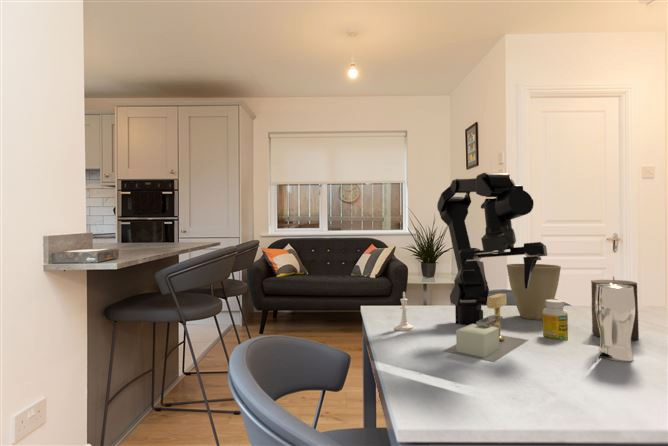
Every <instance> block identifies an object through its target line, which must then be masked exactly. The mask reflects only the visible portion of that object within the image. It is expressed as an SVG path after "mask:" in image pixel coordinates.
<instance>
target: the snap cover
mask: <svg viewBox="0 0 668 446" xmlns="http://www.w3.org/2000/svg"><path fill="white" fill-rule="evenodd" d="M455 337H456V340H455V342H456V344H455V345H456V351H457V352H461V353H466V354H471V355H475V356H480V357H486V356H488V355H489V354H491V353H493V352H494V351H496V350H498V349H499V328H497V327H495V326H491V325H490V326H488V327H485V326H479V325H476V324H470V325H464V327H460V328H459V329H457V330H456V333H455Z"/></svg>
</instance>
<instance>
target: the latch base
mask: <svg viewBox="0 0 668 446" xmlns="http://www.w3.org/2000/svg"><path fill="white" fill-rule="evenodd" d="M502 336H504V337H505V340H501V341H499V349H498V350H496V351H494V352H493V353H491V354H489V355H488V356H486V357H480V356H475V355H471V354H466V353H461V352H457V351H456V344H454V345H452V346H450V347H447V348H446V349H443V350H442V352H445V353H450V354H454V355H460V356H464V357H469V358H474V359H477V360H482V361H485V362H486V361H487V362H492V363H495V362H496V361H498V360H499V359H502V358H503V357H504V356H506V355H507V354H509V353H511V352H512V351H514V350H516V349H517V348H518V347H520V346H521V345H523V344H525V343H527V342H528V341H529V339H526V338H520V337H514V336H513V337H512V336H509V335H502Z"/></svg>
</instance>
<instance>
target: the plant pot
mask: <svg viewBox="0 0 668 446" xmlns="http://www.w3.org/2000/svg"><path fill="white" fill-rule="evenodd" d="M506 268H507V269H506V270H507V276H508V280H509V286H510V290H511V293H512V296H513V299H514V303H515V305H516V308H517V312H518V314H519V316H520V317H521V318H523V319H526V320H527V319H528V320H534V321H535V320H538V321H539V320H542V321H543V310H544V309H545V308H547V306H546V305H545V301H546V300H555V299H556V296H557V295H556V294H557V291H558V286H559V281H560V275H561V265H556V264H548V263H547V264H546V263H545V264H543V263H536V264H535V267H534V269H533V271H532V275H531V279H530V282H529V286H528V289H525V283H524V263H508V264H506Z"/></svg>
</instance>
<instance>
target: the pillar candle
mask: <svg viewBox="0 0 668 446" xmlns="http://www.w3.org/2000/svg"><path fill="white" fill-rule="evenodd" d="M590 281H591V282H590V283H591V284H590V285H591V323H592V324H591V325H592V326H591V327H592V329H591V330H592V332H591V333H592V335H594V336H596V337H598V338H600V331H599V326H598V321H597V317H596V310H595V294H596V285H597V284H620V285H628V286H633V287H634V288H633V289H634V298H635V318H634V324H633V329H632V334H631V342H632V341H633V342H635V341H637V340H639V338H640V336H639V335H640V332H639V305H638V304H639V303H638V298H639V297H638V283H637V282H636V281H630V280H621V279H615V276H612V279H593V280H590Z"/></svg>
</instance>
